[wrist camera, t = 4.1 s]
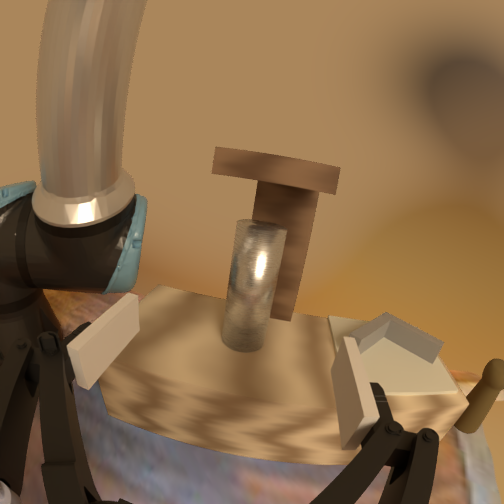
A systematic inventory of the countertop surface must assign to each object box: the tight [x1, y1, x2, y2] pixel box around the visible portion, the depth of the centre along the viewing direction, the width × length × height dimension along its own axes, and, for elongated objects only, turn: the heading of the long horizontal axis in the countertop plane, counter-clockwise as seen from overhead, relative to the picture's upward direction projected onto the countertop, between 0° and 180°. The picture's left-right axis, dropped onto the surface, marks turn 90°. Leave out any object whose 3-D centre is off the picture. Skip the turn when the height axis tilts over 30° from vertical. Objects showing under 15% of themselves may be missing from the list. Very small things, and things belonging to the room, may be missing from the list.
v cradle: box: [328, 312, 458, 395], centre depth 27 cm, size 14×14×3 cm
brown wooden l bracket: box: [212, 147, 340, 322], centre depth 27 cm, size 9×12×18 cm
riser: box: [98, 285, 469, 465], centre depth 29 cm, size 38×16×10 cm, turn 83°
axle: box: [222, 219, 287, 353], centre depth 26 cm, size 4×4×12 cm
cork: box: [454, 359, 504, 434], centre depth 25 cm, size 6×6×11 cm
